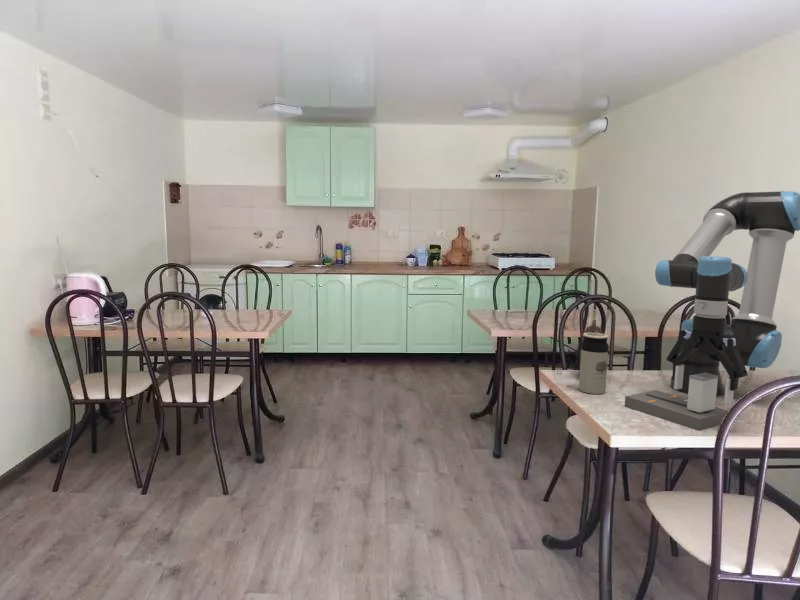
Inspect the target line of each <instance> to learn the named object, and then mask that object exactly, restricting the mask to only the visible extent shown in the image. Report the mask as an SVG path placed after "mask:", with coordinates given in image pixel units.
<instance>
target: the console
mask: <svg viewBox="0 0 800 600" xmlns="http://www.w3.org/2000/svg"><path fill="white" fill-rule="evenodd" d="M687 401H688V398H686V397H681V396H678V395H676V394H675V395H674V394H671V393H669V392H668V393H667V392H664V391H661V390H657V389H653V390H649V391H644V392H639V393H635V394H628V395H625V396H624V407H626V408H629V409H632V410H635V411H638V412H642V413H644V414H647V415H650V416H653V417H656V418H660V419H663V420H666V421H669V422H672V423H675V424H678V425H680V426H684V427H686V428H689V429H693V430H696V431H703V430H706V429H709V428H713V427H716V426H720V424H721V422H722V420H723V418H724V417H725V415H726V414H727V413H728V411H729V410H728V409H725V408H720V407H718V406H715V409H712V410H708V411H704V412H700V413H699V412H696V411H692V410H689V409H687ZM721 425H722V424H721Z"/></svg>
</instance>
